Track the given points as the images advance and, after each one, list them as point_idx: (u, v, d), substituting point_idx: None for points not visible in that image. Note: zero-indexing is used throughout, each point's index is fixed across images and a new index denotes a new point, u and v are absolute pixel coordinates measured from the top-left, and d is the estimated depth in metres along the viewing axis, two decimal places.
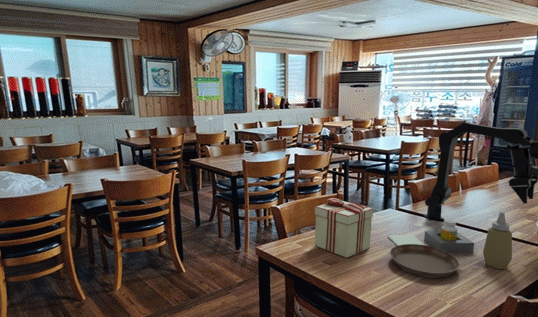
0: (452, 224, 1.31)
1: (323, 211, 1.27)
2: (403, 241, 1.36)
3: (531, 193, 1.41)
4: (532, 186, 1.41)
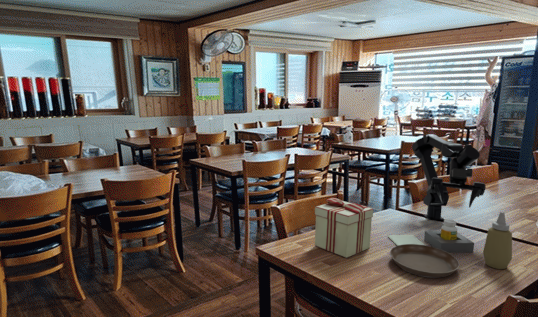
0: (452, 224, 1.31)
1: (323, 211, 1.27)
2: (403, 241, 1.36)
3: None
4: (471, 194, 1.38)
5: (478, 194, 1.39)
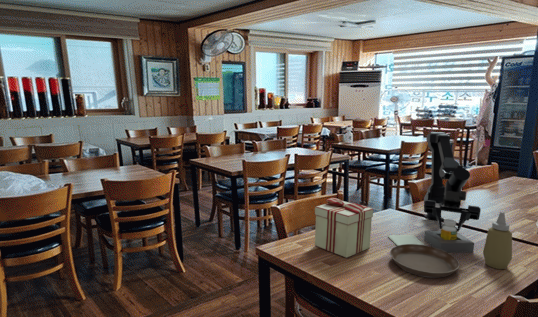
0: (452, 224, 1.31)
1: (323, 211, 1.27)
2: (403, 241, 1.36)
3: (458, 225, 1.31)
4: None
5: (468, 217, 1.33)
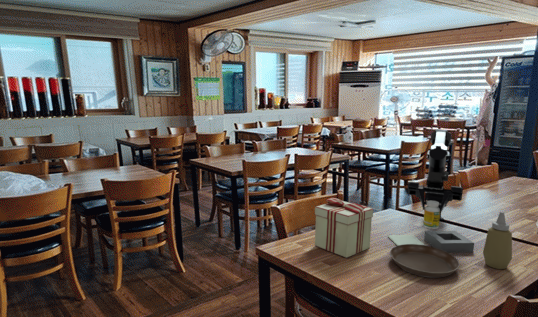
0: (435, 205, 1.31)
1: (323, 211, 1.27)
2: (403, 241, 1.36)
3: (440, 205, 1.32)
4: (442, 198, 1.33)
5: (450, 198, 1.34)
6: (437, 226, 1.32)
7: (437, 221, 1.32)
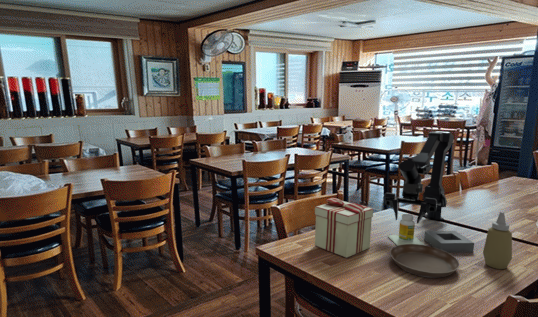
0: (409, 218, 1.34)
1: (323, 211, 1.27)
2: (403, 241, 1.36)
3: None
4: None
5: (428, 210, 1.36)
6: (411, 239, 1.35)
7: (411, 234, 1.35)
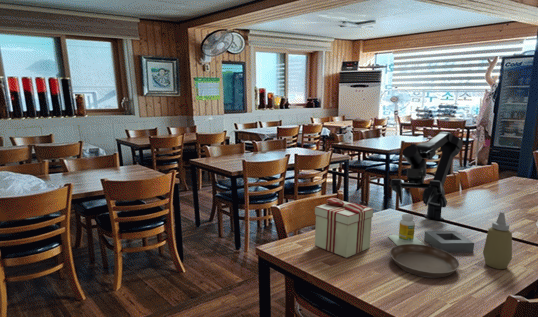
0: (409, 218, 1.34)
1: (323, 211, 1.27)
2: (403, 241, 1.36)
3: None
4: None
5: (435, 192, 1.41)
6: (411, 239, 1.35)
7: (411, 234, 1.35)
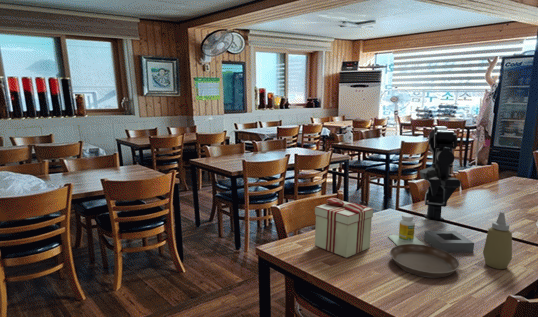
0: (409, 218, 1.34)
1: (323, 211, 1.27)
2: (403, 241, 1.36)
3: None
4: None
5: None
6: (411, 239, 1.35)
7: (411, 234, 1.35)
